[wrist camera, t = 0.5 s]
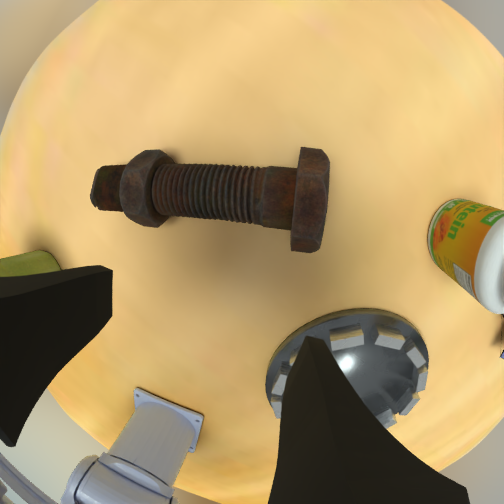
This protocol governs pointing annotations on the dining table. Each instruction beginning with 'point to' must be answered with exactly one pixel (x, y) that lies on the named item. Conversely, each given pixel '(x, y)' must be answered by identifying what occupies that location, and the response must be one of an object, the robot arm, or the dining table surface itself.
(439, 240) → the supplement bottle
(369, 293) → the dining table surface
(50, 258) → the plant pot
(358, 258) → the dining table surface
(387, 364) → the carrier
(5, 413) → the robot arm
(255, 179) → the bolt
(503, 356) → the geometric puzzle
